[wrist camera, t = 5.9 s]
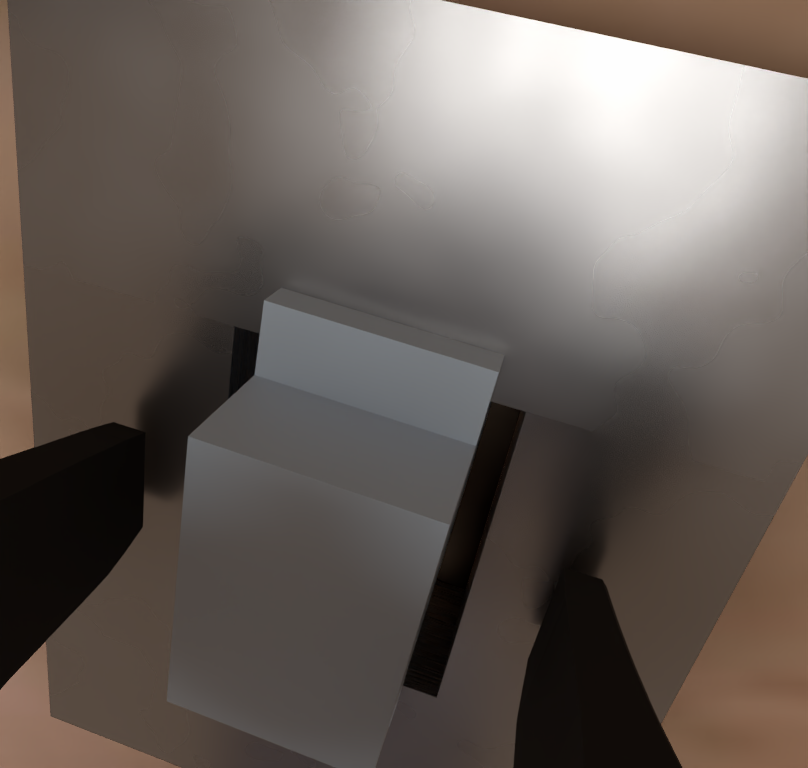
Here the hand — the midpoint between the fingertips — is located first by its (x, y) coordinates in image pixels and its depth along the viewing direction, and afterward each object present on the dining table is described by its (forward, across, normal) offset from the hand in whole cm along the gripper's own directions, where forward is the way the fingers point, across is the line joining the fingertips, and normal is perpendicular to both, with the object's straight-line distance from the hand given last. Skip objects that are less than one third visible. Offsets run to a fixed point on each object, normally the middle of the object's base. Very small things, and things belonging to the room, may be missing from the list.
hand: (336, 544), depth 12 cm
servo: (+3, 0, 0) cm, 3 cm away
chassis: (+3, 0, 0) cm, 3 cm away
